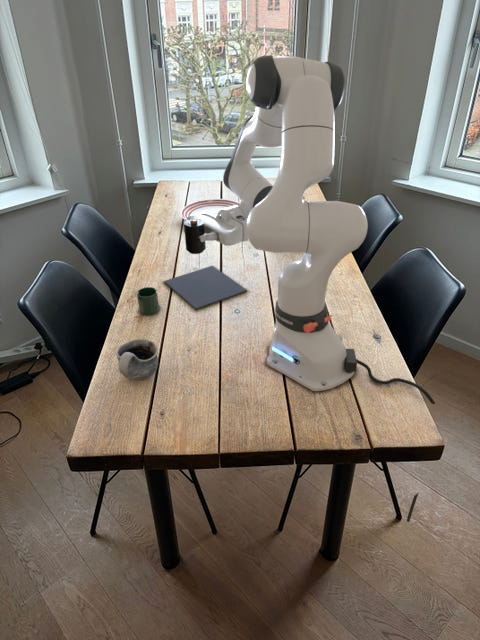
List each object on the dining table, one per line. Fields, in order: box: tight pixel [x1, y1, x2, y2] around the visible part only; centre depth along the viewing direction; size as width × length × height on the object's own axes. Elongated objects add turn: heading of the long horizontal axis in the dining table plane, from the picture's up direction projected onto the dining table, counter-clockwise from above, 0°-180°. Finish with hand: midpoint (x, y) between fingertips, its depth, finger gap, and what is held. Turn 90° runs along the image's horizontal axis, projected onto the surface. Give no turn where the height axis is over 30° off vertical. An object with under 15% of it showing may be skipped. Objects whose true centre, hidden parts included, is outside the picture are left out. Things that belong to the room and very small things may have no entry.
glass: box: [136, 286, 160, 316], centre depth 135 cm, size 6×6×6 cm
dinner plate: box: [180, 198, 241, 221], centre depth 195 cm, size 27×27×3 cm
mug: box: [116, 338, 159, 381], centre depth 109 cm, size 10×12×10 cm
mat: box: [163, 265, 248, 311], centre depth 148 cm, size 20×18×1 cm
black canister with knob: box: [183, 219, 207, 255], centre depth 137 cm, size 6×6×10 cm
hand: (192, 234), depth 136 cm, fingers closed on black canister with knob, 6 cm apart
